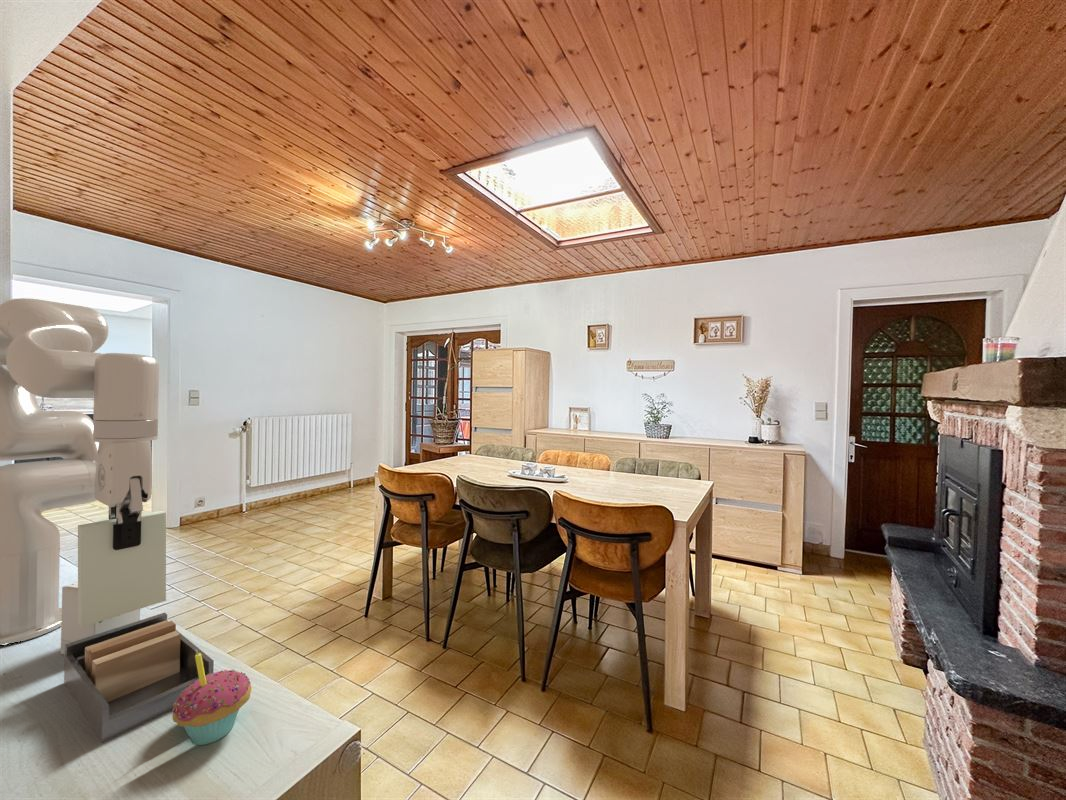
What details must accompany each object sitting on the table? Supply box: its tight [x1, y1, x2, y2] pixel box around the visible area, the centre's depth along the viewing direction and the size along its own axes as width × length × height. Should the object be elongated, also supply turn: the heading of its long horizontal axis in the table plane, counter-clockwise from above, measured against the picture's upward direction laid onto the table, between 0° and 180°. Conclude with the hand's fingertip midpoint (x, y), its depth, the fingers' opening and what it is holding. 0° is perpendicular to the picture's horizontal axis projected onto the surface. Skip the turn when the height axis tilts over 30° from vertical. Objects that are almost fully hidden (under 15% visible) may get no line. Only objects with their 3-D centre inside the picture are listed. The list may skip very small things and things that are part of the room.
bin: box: [63, 612, 215, 744], centre depth 65 cm, size 20×12×7 cm, turn 57°
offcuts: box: [85, 619, 180, 702], centre depth 66 cm, size 6×10×7 cm, turn 147°
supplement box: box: [60, 581, 141, 656], centre depth 75 cm, size 7×7×13 cm
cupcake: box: [171, 650, 252, 746], centre depth 58 cm, size 9×8×12 cm
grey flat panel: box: [77, 510, 167, 627], centre depth 69 cm, size 2×10×15 cm, turn 147°
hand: (124, 544), depth 69 cm, fingers closed on grey flat panel, 2 cm apart
